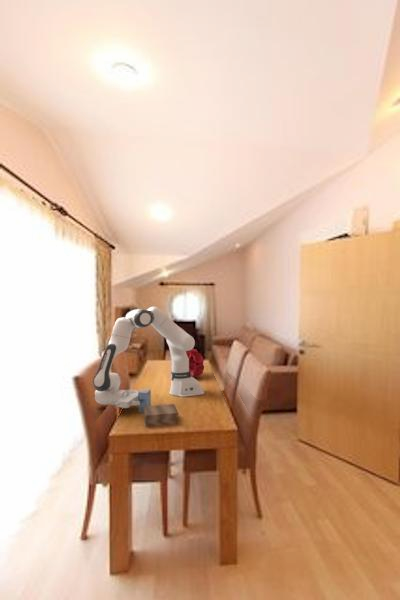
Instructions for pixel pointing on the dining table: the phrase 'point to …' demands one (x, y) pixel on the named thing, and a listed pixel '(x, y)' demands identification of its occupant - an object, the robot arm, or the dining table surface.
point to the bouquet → (195, 362)
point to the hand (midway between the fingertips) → (144, 400)
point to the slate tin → (144, 399)
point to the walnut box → (160, 415)
